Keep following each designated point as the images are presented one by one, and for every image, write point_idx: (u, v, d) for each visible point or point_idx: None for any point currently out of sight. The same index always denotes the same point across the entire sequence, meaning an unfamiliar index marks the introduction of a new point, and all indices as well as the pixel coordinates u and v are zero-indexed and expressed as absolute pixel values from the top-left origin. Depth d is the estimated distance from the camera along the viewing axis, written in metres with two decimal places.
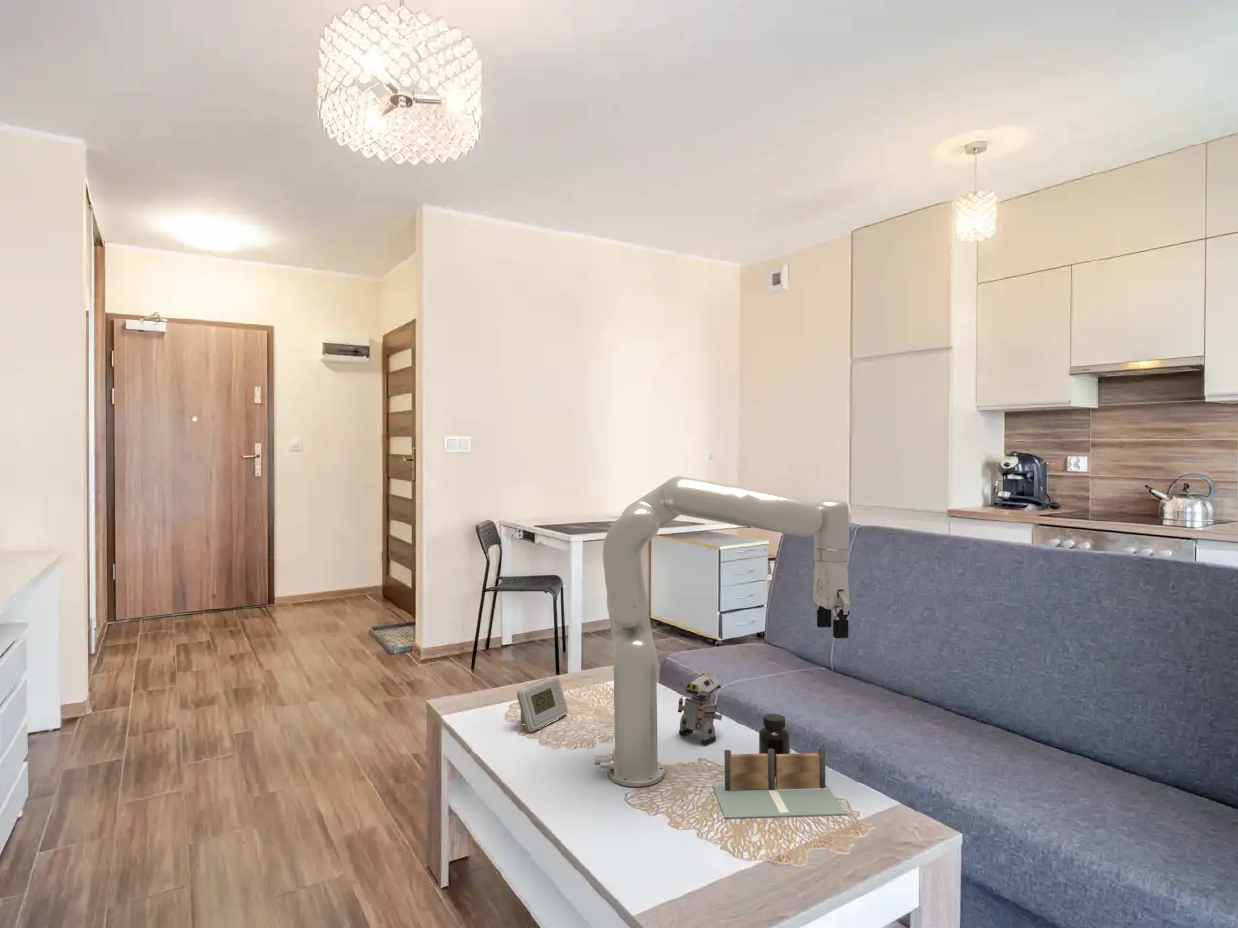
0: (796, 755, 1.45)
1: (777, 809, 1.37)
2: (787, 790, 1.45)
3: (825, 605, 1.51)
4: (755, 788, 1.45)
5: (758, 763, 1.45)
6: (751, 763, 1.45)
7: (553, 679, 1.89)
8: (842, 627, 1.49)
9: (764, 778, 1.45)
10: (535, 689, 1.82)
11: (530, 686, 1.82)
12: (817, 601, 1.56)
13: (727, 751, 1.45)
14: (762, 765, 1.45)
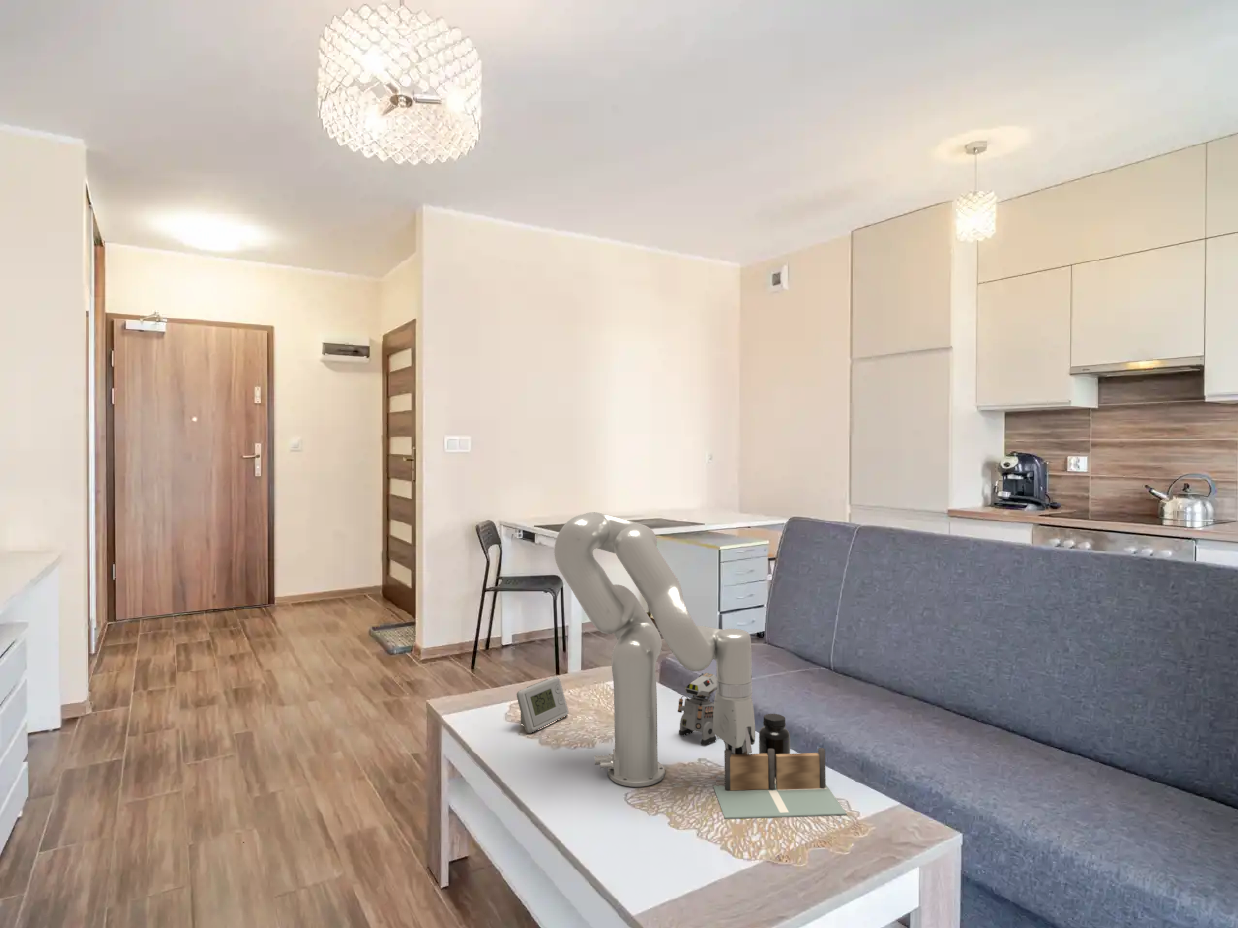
0: (796, 755, 1.45)
1: (777, 809, 1.37)
2: (787, 790, 1.45)
3: (733, 744, 1.45)
4: (755, 788, 1.45)
5: (758, 763, 1.45)
6: (751, 763, 1.45)
7: (553, 680, 1.88)
8: None
9: (764, 778, 1.45)
10: (535, 690, 1.82)
11: (530, 687, 1.82)
12: (719, 735, 1.49)
13: (727, 751, 1.45)
14: (762, 765, 1.45)
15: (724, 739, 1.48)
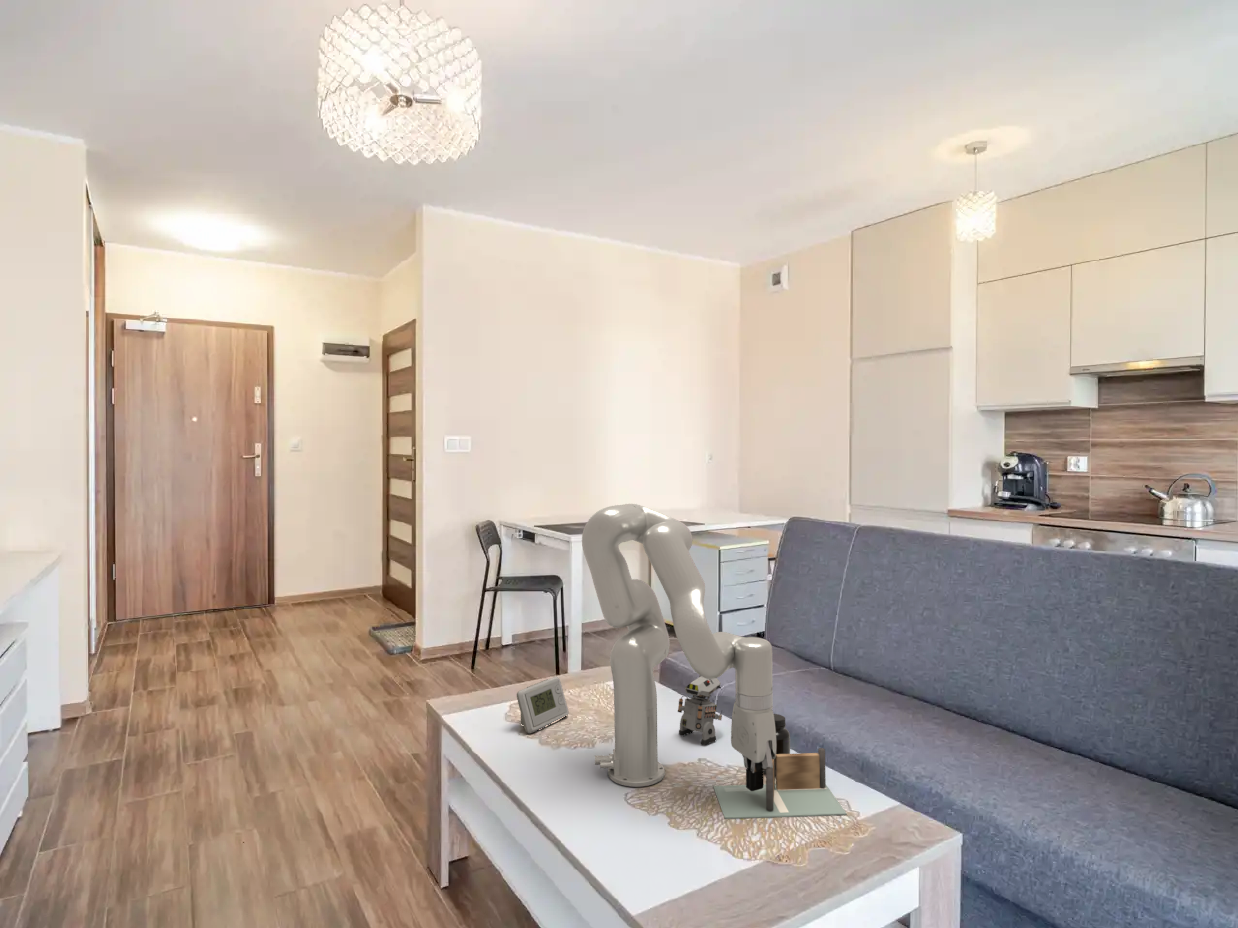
0: (796, 755, 1.45)
1: (777, 809, 1.37)
2: (787, 790, 1.45)
3: (753, 758, 1.38)
4: None
5: None
6: (773, 770, 1.41)
7: (554, 680, 1.88)
8: (759, 779, 1.41)
9: None
10: (535, 690, 1.82)
11: (530, 687, 1.82)
12: (738, 749, 1.42)
13: (770, 769, 1.36)
14: None
15: (743, 753, 1.41)
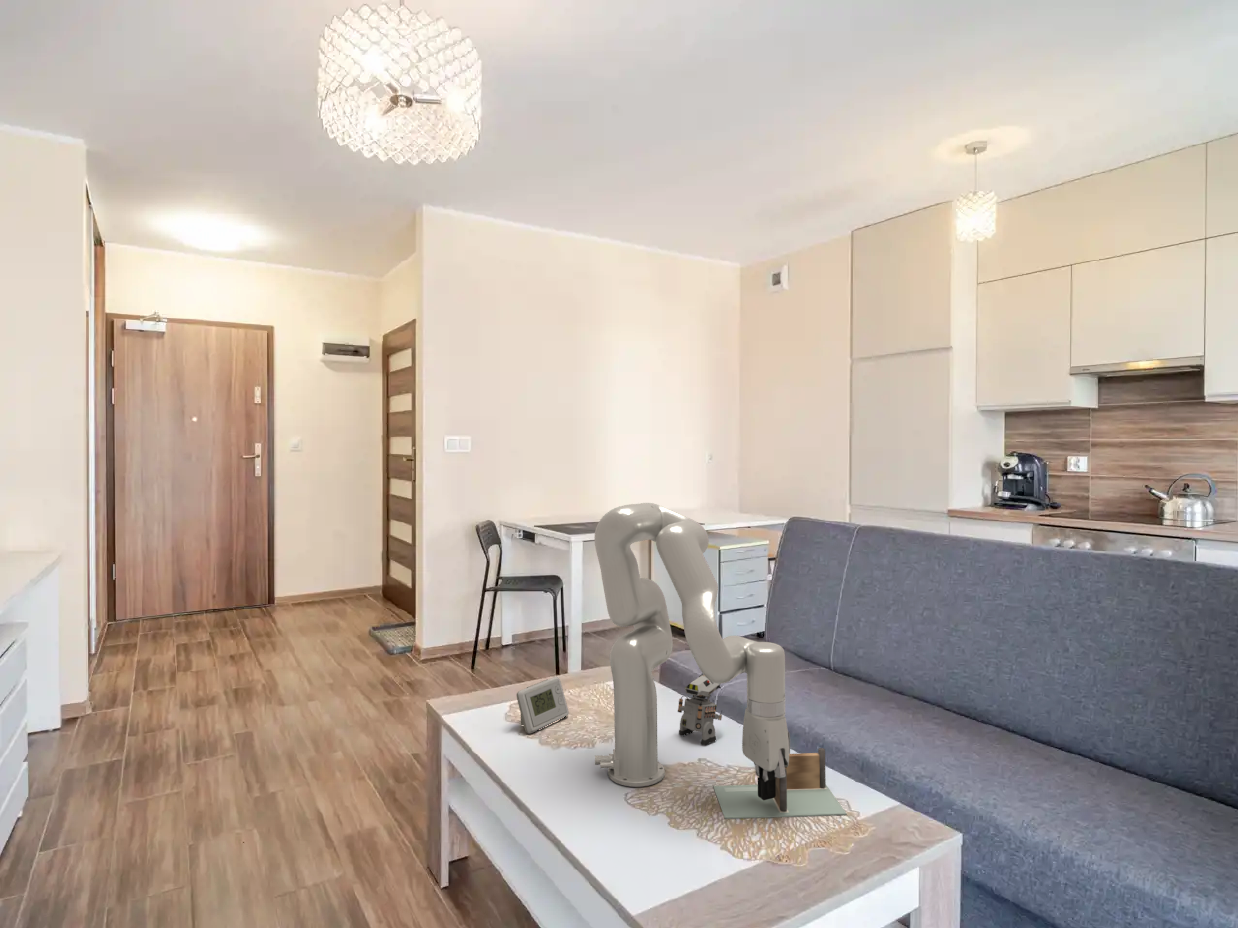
0: (796, 755, 1.45)
1: (777, 809, 1.37)
2: (787, 790, 1.45)
3: (765, 767, 1.34)
4: None
5: None
6: None
7: (554, 680, 1.88)
8: (771, 788, 1.37)
9: None
10: (535, 690, 1.82)
11: (530, 687, 1.82)
12: (750, 757, 1.39)
13: None
14: None
15: (755, 761, 1.37)
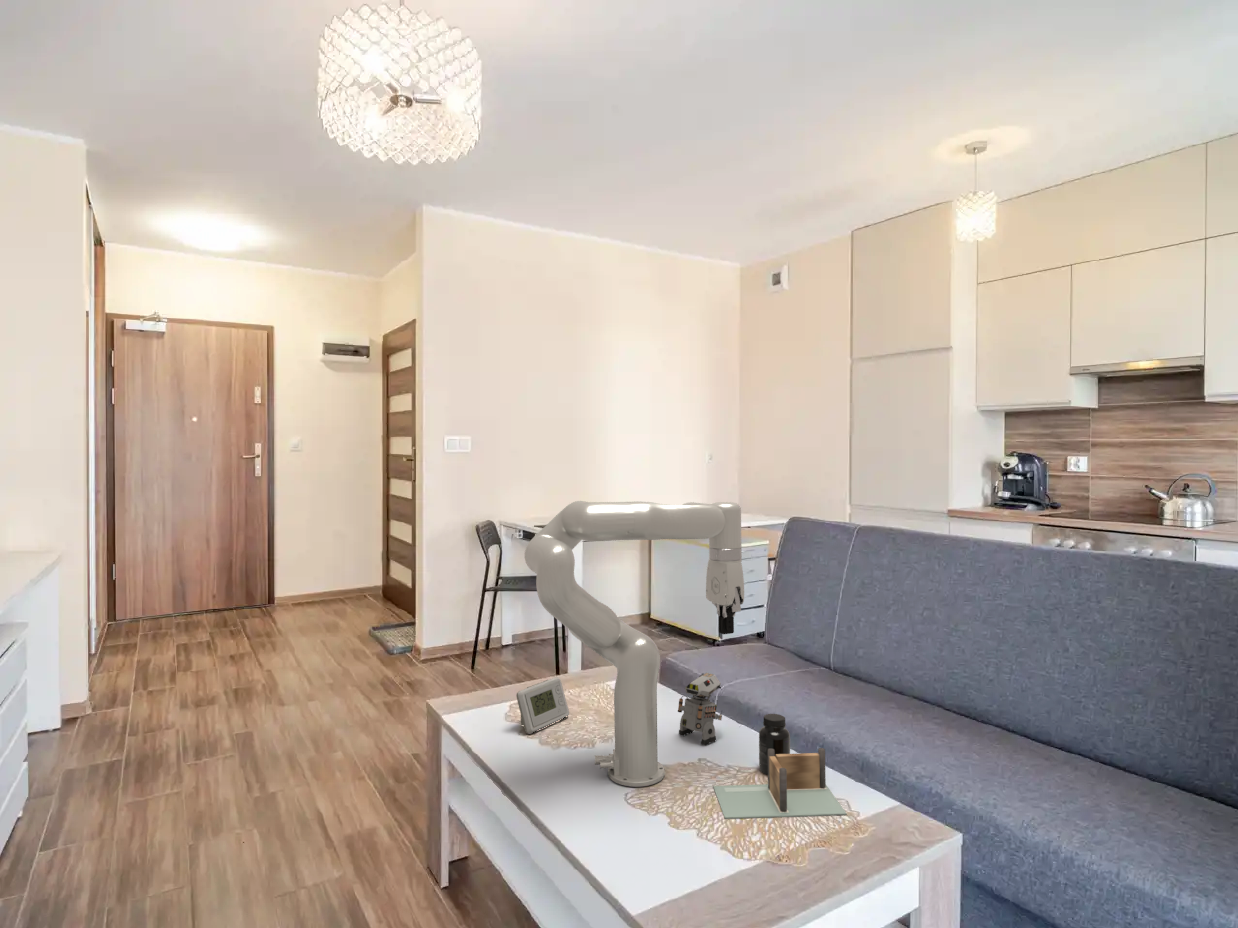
0: (796, 755, 1.45)
1: (777, 809, 1.37)
2: (787, 790, 1.45)
3: (723, 603, 1.58)
4: None
5: None
6: None
7: (554, 680, 1.88)
8: (729, 623, 1.61)
9: None
10: (535, 690, 1.82)
11: (530, 687, 1.82)
12: (712, 599, 1.62)
13: (784, 769, 1.36)
14: None
15: (716, 601, 1.61)
